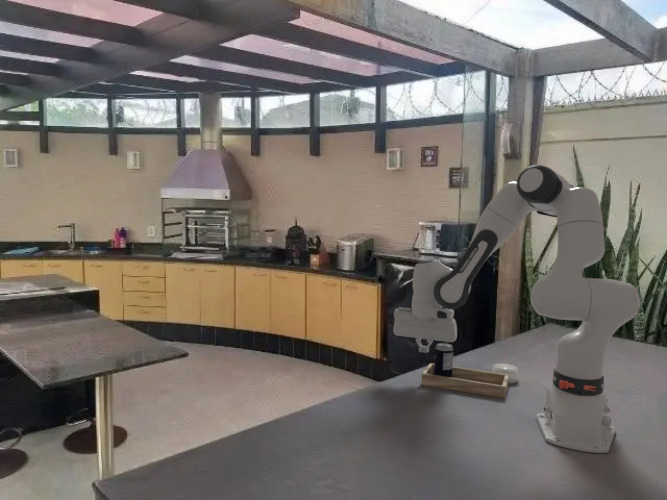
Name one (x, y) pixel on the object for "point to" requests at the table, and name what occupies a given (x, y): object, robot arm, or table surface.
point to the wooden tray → (468, 381)
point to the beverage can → (443, 360)
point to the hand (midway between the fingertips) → (423, 351)
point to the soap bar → (507, 371)
